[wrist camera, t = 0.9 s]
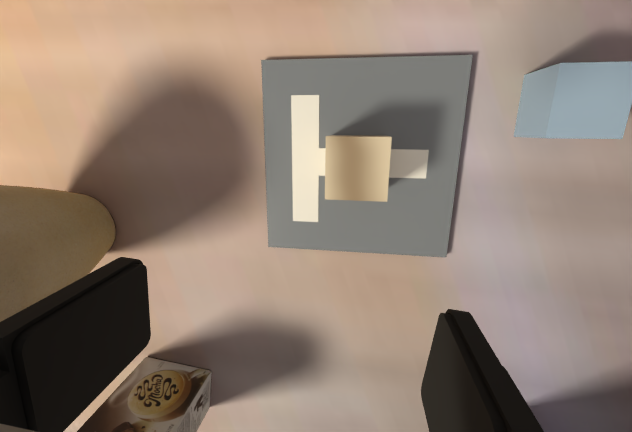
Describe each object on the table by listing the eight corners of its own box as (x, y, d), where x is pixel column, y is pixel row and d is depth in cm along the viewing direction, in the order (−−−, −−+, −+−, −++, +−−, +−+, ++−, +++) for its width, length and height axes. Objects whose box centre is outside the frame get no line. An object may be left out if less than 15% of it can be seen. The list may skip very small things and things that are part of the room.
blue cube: (590, 74, 25) (643, 61, 20) (575, 137, 27) (622, 138, 22) (523, 75, 26) (560, 62, 21) (513, 136, 27) (545, 138, 23)
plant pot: (19, 154, 35) (-247, 173, 20) (141, 169, 33) (-46, 203, 18) (40, 273, 39) (-166, 366, 24) (149, 292, 37) (3, 404, 22)
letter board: (470, 56, 26) (472, 54, 25) (444, 255, 31) (446, 257, 30) (263, 61, 28) (261, 59, 28) (270, 244, 33) (268, 247, 33)
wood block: (386, 135, 28) (391, 137, 23) (383, 190, 29) (387, 201, 25) (331, 135, 29) (325, 136, 24) (330, 188, 30) (324, 199, 25)
